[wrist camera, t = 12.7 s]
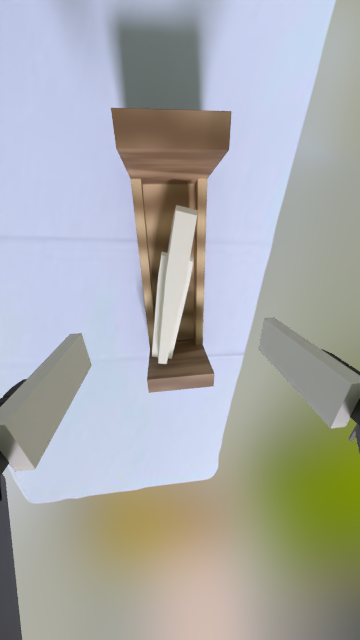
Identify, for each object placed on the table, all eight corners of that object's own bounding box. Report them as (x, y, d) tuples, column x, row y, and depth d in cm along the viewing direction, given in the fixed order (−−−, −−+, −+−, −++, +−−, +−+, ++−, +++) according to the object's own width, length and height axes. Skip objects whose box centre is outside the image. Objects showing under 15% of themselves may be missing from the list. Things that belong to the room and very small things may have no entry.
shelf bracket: (148, 338, 42) (146, 362, 30) (164, 227, 38) (169, 201, 25) (171, 341, 43) (177, 365, 31) (189, 233, 38) (205, 210, 26)
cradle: (132, 164, 30) (110, 107, 17) (202, 165, 31) (231, 111, 18) (152, 349, 45) (148, 392, 32) (198, 346, 46) (213, 386, 33)
